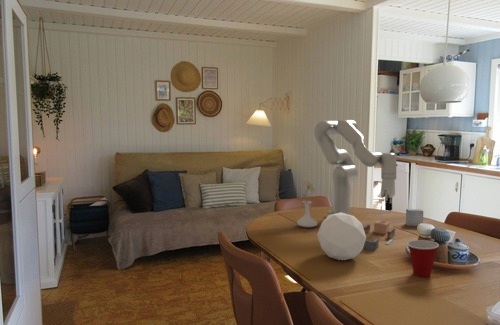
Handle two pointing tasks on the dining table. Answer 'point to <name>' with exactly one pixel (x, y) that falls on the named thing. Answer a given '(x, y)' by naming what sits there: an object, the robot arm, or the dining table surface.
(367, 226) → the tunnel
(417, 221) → the medicine box
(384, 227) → the block
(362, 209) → the dining table surface
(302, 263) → the dining table surface
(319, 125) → the robot arm
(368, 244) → the trap bay
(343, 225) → the ball
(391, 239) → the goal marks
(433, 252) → the plastic cup
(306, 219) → the flower in vase
